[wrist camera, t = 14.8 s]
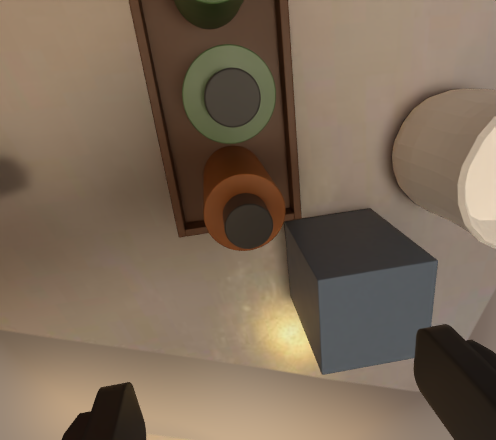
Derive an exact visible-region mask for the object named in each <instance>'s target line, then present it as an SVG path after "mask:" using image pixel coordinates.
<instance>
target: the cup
mask: <svg viewBox="0 0 496 440" xmlns="http://www.w3.org/2000/svg"><path fill="white" fill-rule="evenodd" d="M392 163H393V171H394V174H395V177H396V180H397V182H398V185H399V186H400V188H401V189H402V190H403V191H404V192H405V194H406V195H407V196H408V197H409V198H410V199H411V200H412V201H413V202H414V203H416V204H417V205H419V206H421V207H423V208H424V209H426V210H428V211H429V212H432V213H434V214H437V215H439V216H441V217H443V218H446V219H448V220H450V221H452V222H454V223H455V224H457V225H459V226H460V227H462V228H464V229H465V230H467V231H468V232H470V233H471V234H472V235H473V236H474V237H476V238H477V240H478V241H479V242H482V243H484V244H486V245H488V246H490V247H492V248H494V249H496V90H490V89H458V90H450V91H447V92H444V93H441V94H438V95H435V96H432V97H429V98H427V99H426V100H425V101H423V102H422V103H421V104H419V105H418V106H417V107H415V108H414V109H413V110H412V111H411V113H410V114H409V115H408V117H407V118H406V119H405V121H404V122H403V124H402V126H401V128H400V130H399V132H398V134H397V137H396V139H395V141H394V146H393V151H392Z"/></svg>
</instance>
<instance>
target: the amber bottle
mask: <svg viewBox="0 0 496 440" xmlns="http://www.w3.org/2000/svg"><path fill="white" fill-rule="evenodd" d="M203 216H204V222H205V226H206V228H207V230H208V232H209V234H210V235H211V236H212V237H213V238H214V239H215V240H216V241H217V242H218V243H219V244H221V245H223V246H224V247H227V248H229V249H233V250H239V251H247V250H253V249H256V248H259V247H262V246H264V245H265V244H267V243H268V242H270V241H271V240H272V239H273V238H274V237H275V236H276V235H277V234H278V232H279V231H280V229H281V227H282V225H283V222H284V219H285V202H284V198H283V196H282V194H281V192H280V191H279V189H278V187H277V186H276V185H275V183H274V182H273V180H272V179H271V177H270V176H269V174H268V173H267V171H266V170H265V168H264V167H263V165H262V164H261V163H260V161H259V160H258V158H257V157H256V156H255V154H254V153H252V152H251V151H250V150H248V149H246V148H244V147H241V146H226V147H223V148H220V149H218V150H217V151H215V152H214V153H213V154H212V155H211V156H210V157H209V159H208V160H207V162H206V164H205V167H204V174H203Z"/></svg>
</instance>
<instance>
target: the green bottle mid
mask: <svg viewBox="0 0 496 440" xmlns="http://www.w3.org/2000/svg"><path fill="white" fill-rule="evenodd" d="M182 100H183V105H184V109H185V112H186V115H187V117H188V119H189V120H190V122H191V123H192V125H193V126H194V127H195V128H196V130H197V131H199V132H200V133H201V134H202V135H204V136H205V137H207V138H208V139H210V140H212V141H215V142H218V143H223V144H236V143H241V142H244V141H247V140H249V139H251V138H253V137H254V136H256V135H257V134H258V133H259V132H261V131H262V130H263V128H264V127H265V126H266V125H267V123H268V122H269V120H270V118H271V116H272V114H273V111H274V107H275V102H276V88H275V82H274V79H273V76H272V73H271V71H270V69H269V68H268V66H267V65H266V63H265V62H264V61H263V60H262V59H261V58H260V57H259V56H258V55H257V54H256V53H254V52H253V51H251V50H249V49H248V48H245V47H243V46H239V45H233V44H223V45H218V46H214V47H212V48H209V49H207V50H206V51H204V52H203V53H201V54H200V55H199V56H198V57H197V58H196V59H195V60H194V61H193V62H192V63H191V65H190V67H189V68H188V70H187V72H186V75H185V77H184V81H183V87H182Z"/></svg>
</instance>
